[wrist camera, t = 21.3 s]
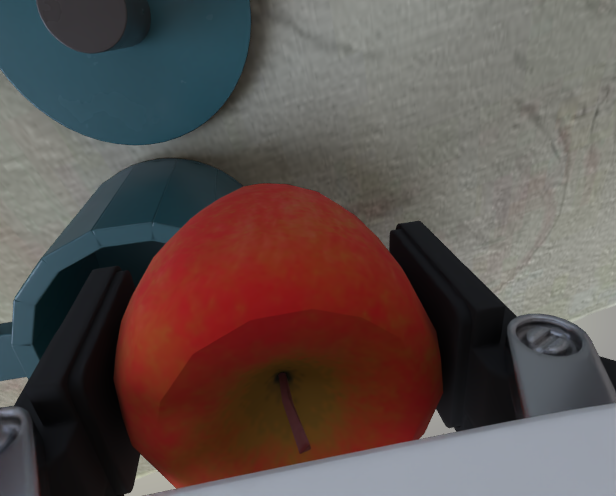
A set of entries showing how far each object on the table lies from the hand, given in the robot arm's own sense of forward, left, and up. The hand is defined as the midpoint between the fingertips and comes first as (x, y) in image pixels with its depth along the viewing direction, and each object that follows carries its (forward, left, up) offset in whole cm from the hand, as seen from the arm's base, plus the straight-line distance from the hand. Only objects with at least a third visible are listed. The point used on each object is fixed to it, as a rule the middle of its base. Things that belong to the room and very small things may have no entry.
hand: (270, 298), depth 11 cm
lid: (-7, -5, -15) cm, 18 cm away
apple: (0, 0, -3) cm, 3 cm away
